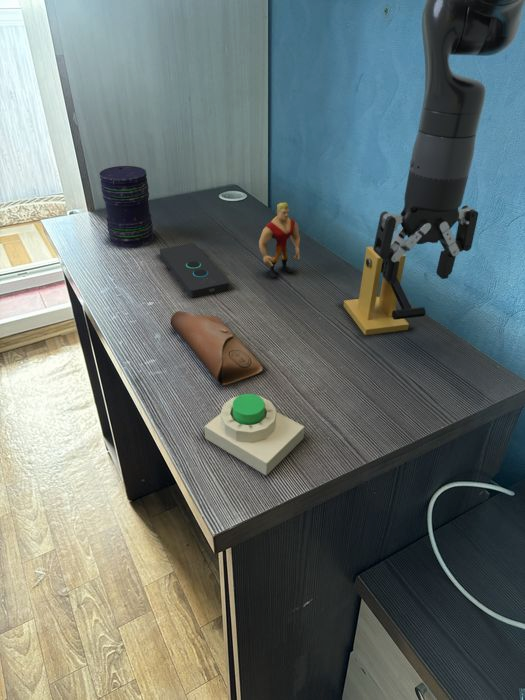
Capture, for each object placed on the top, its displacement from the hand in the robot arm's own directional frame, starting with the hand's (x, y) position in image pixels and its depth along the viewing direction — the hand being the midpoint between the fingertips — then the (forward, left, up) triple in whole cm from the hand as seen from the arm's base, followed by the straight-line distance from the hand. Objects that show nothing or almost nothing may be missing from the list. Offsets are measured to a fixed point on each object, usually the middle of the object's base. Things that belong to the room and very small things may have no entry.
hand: (416, 279), depth 77 cm
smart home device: (+45, +2, -13) cm, 47 cm away
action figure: (+31, -9, -13) cm, 35 cm away
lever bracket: (+8, -6, -13) cm, 16 cm away
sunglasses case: (+23, +19, -13) cm, 33 cm away
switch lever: (+5, -3, -5) cm, 7 cm away
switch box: (+6, +31, -13) cm, 34 cm away
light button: (+7, +31, -9) cm, 33 cm away
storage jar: (+67, -1, -13) cm, 68 cm away
